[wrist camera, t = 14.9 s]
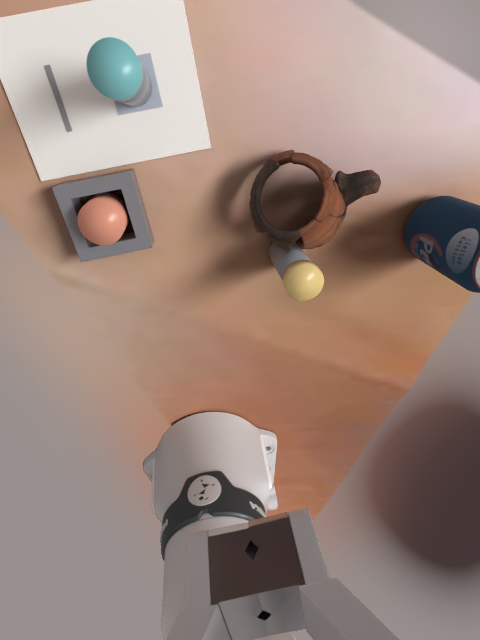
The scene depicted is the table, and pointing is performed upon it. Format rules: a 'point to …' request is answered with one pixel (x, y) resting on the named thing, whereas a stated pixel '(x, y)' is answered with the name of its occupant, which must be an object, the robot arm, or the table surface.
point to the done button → (103, 219)
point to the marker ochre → (297, 272)
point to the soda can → (447, 239)
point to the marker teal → (118, 72)
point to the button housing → (123, 180)
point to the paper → (85, 100)
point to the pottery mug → (331, 207)
